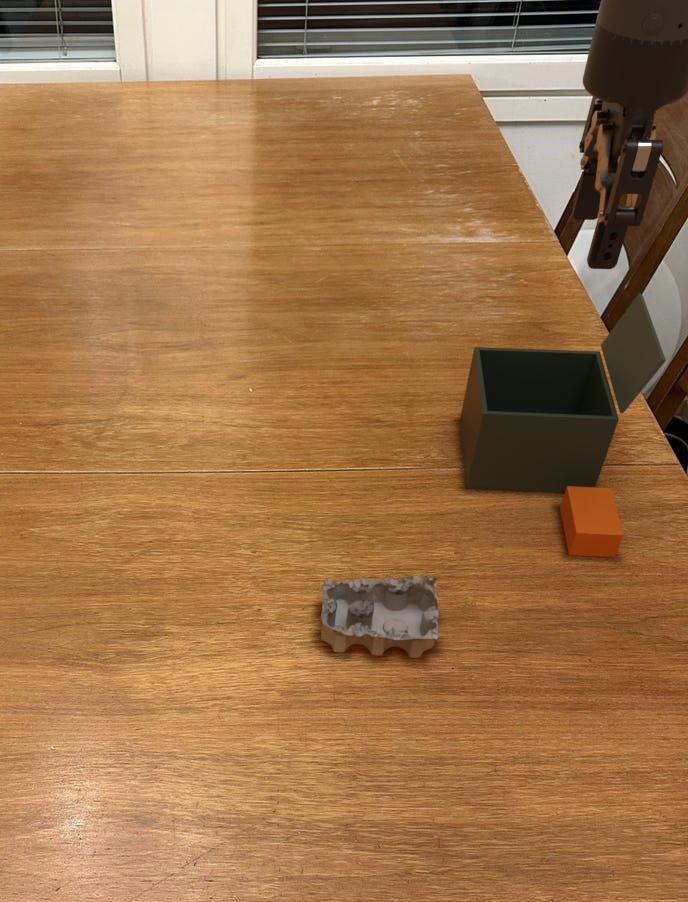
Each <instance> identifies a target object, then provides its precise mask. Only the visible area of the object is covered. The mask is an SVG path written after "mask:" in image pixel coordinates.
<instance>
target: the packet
mask: <svg viewBox="0 0 688 902" xmlns="http://www.w3.org/2000/svg"><path fill="white" fill-rule="evenodd" d="M563 494H564V495H563V498H562V501H561V504H560V507H559V511H560V516H561V522H562V526H563V531H564V537H565V541H566V547H567V552H568V555H569V556H576V557H577V556H578V557H597V558H614V559H615V558H616V556H617V553H618V550H619V548H620V545H621V543H622V540H623V539H624V531H623V527H622V524H621V523H622V522H621V519H620V515H619V512H618V507H617V504H616V503H617V502H616V500H615V496H614V492H613V489H612V487H611V488H610V487H574V486H567V488H566V491H565V493H563Z"/></svg>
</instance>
